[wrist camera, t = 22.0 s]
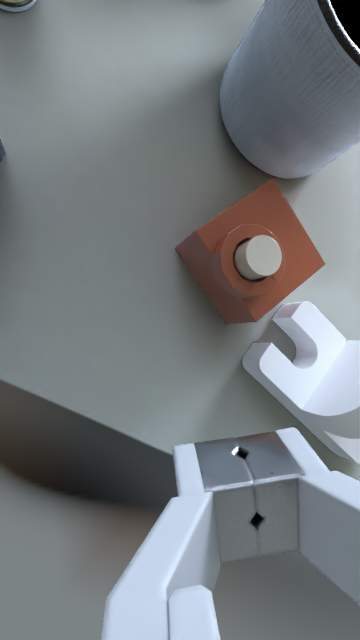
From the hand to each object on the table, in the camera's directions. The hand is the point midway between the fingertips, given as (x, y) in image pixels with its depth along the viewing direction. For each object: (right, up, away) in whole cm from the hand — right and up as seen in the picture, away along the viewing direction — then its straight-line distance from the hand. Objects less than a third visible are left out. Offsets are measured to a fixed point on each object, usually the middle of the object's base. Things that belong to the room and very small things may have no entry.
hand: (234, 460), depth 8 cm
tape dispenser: (+14, -4, +32) cm, 35 cm away
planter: (+10, +28, +32) cm, 44 cm away
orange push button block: (+5, +10, +29) cm, 31 cm away
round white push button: (+5, +9, +21) cm, 23 cm away
